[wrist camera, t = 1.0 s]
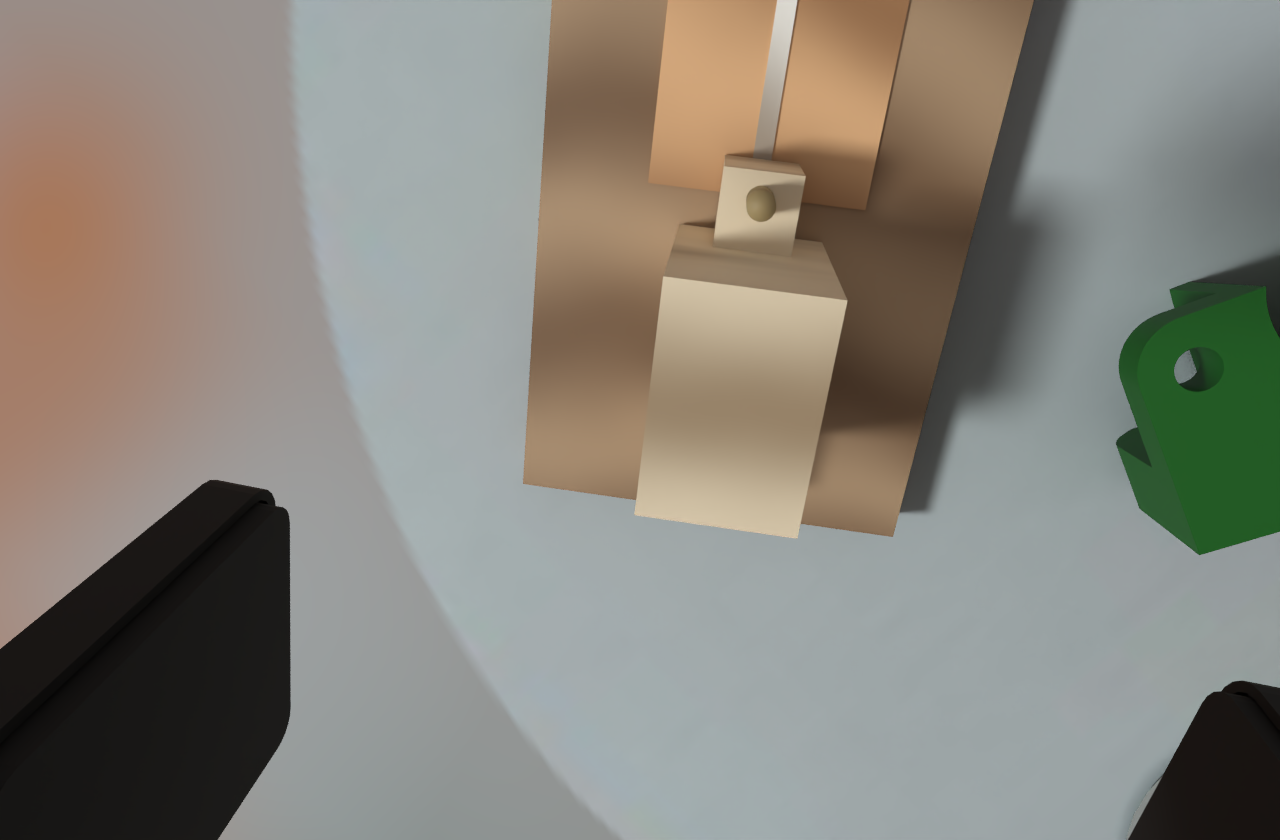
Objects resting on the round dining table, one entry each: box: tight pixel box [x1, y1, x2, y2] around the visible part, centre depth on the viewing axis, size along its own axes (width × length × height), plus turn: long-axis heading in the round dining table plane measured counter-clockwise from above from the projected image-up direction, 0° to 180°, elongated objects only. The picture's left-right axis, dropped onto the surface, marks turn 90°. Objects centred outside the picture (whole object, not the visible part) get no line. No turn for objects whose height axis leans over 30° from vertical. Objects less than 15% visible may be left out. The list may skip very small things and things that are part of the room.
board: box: [523, 0, 1034, 537], centre depth 24 cm, size 22×12×2 cm, turn 174°
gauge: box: [634, 155, 848, 539], centre depth 23 cm, size 10×4×6 cm, turn 174°
